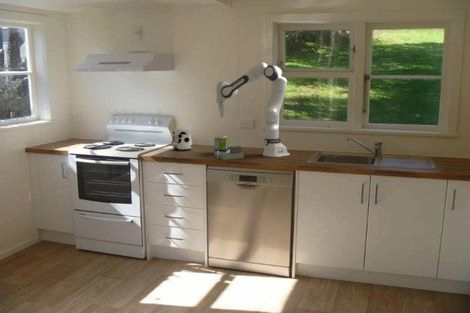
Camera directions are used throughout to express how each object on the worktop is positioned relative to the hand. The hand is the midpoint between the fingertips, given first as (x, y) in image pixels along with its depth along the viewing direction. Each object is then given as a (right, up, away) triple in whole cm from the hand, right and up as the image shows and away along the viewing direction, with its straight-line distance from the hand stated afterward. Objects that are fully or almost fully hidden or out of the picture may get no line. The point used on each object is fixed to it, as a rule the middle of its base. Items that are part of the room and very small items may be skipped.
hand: (221, 117), depth 384 cm
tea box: (+1, -31, -8) cm, 32 cm away
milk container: (-35, -27, +14) cm, 47 cm away
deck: (+7, -34, -25) cm, 43 cm away
